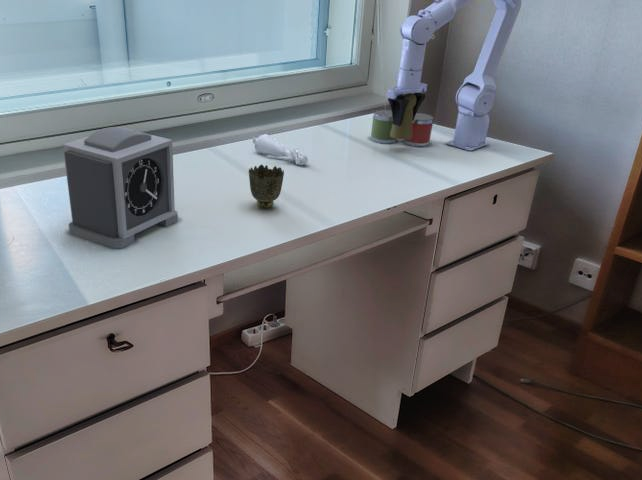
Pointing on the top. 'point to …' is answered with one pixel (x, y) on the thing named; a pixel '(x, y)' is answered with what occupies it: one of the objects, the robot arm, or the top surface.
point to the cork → (405, 121)
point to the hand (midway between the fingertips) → (402, 123)
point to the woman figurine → (277, 150)
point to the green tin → (382, 127)
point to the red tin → (420, 130)
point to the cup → (265, 184)
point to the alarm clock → (119, 185)
